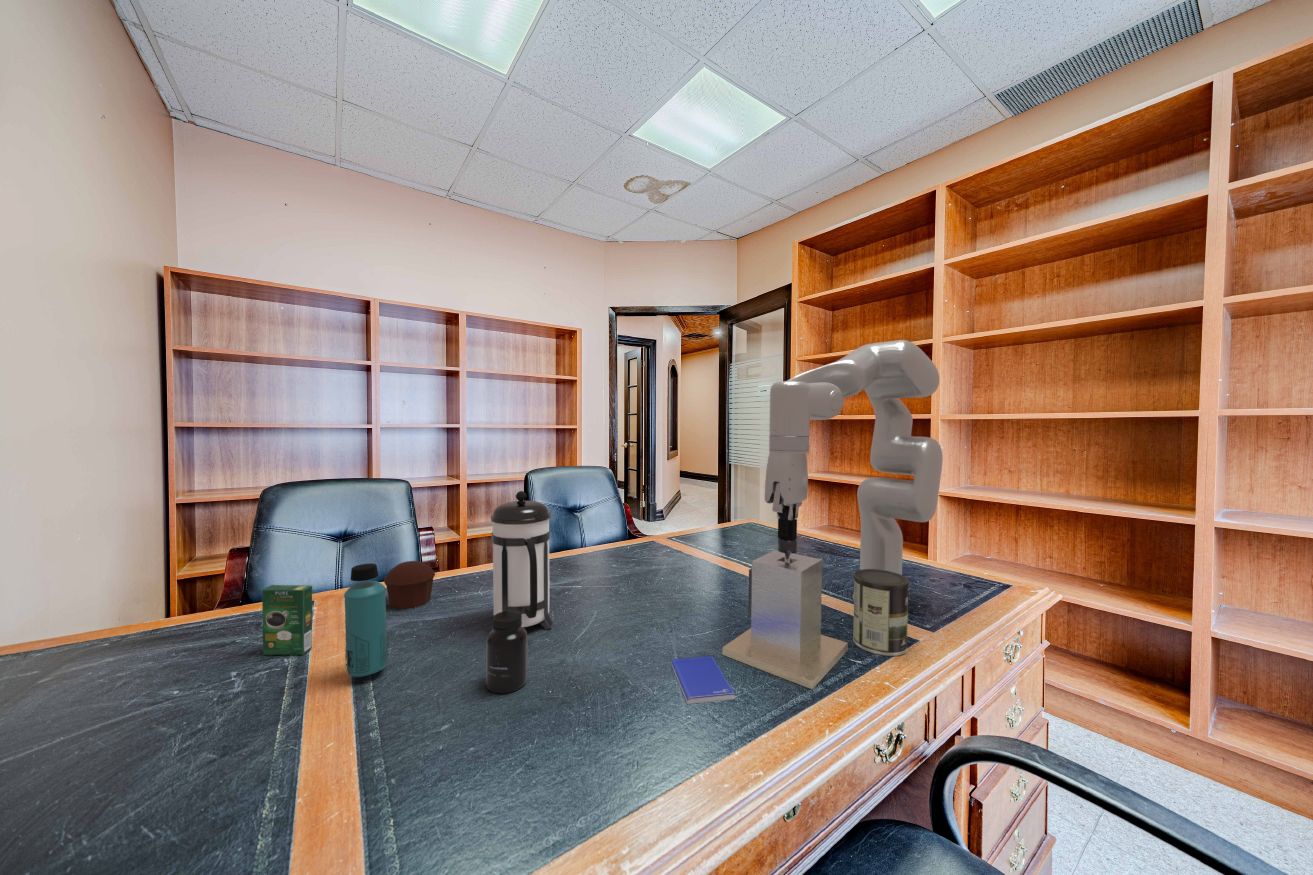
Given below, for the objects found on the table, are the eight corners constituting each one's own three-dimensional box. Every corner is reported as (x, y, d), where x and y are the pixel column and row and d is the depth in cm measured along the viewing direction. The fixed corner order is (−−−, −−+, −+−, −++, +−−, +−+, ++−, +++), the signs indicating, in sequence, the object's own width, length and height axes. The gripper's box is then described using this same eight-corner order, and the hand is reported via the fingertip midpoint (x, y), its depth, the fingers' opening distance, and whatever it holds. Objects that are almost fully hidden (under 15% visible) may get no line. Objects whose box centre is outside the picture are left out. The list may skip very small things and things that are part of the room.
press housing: (765, 624, 105) (766, 542, 105) (847, 650, 94) (849, 558, 93) (722, 654, 92) (723, 561, 91) (812, 689, 80) (814, 582, 79)
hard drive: (735, 692, 77) (712, 655, 89) (687, 697, 76) (671, 659, 88) (735, 701, 77) (712, 663, 89) (687, 707, 76) (671, 667, 88)
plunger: (778, 611, 97) (779, 532, 96) (809, 620, 93) (811, 538, 92) (762, 622, 92) (763, 539, 91) (795, 632, 88) (796, 545, 87)
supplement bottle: (489, 699, 77) (488, 627, 76) (483, 678, 83) (482, 612, 82) (531, 688, 80) (531, 619, 79) (523, 669, 86) (522, 605, 85)
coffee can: (898, 635, 100) (900, 570, 100) (914, 659, 90) (916, 587, 90) (847, 630, 102) (848, 566, 102) (858, 653, 92) (859, 583, 92)
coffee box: (315, 648, 93) (313, 583, 93) (304, 655, 91) (303, 588, 90) (273, 648, 93) (271, 583, 93) (261, 656, 90) (259, 589, 90)
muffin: (375, 604, 116) (374, 564, 115) (419, 590, 125) (419, 553, 124) (399, 616, 109) (399, 573, 108) (444, 600, 118) (444, 561, 118)
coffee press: (467, 634, 100) (466, 494, 98) (516, 606, 114) (515, 484, 113) (535, 650, 93) (534, 500, 92) (577, 618, 108) (577, 489, 107)
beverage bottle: (396, 669, 86) (395, 561, 85) (363, 689, 79) (361, 573, 79) (370, 663, 88) (368, 558, 87) (335, 682, 81) (333, 568, 81)
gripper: (787, 443, 99) (785, 529, 100) (752, 445, 88) (751, 542, 88) (822, 444, 94) (820, 535, 95) (790, 447, 83) (788, 550, 83)
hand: (787, 538), depth 92 cm, fingers closed
